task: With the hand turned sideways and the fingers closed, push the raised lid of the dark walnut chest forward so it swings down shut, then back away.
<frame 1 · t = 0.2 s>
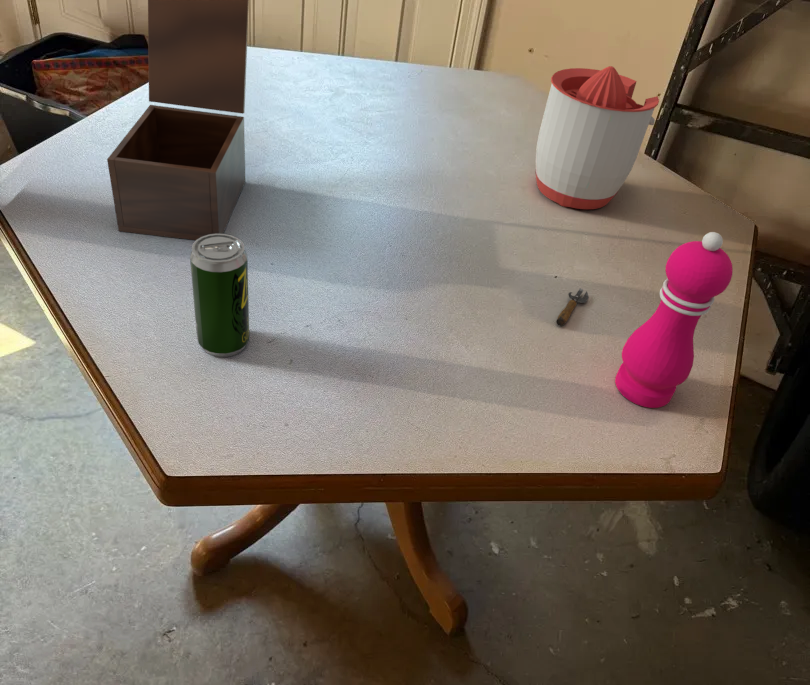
pepper mill: (642, 389, 78), on the table
citrus juicer: (576, 193, 112), on the table
chest: (186, 204, 95), on the table
beer can: (223, 343, 75), on the table
can opener: (571, 311, 87), on the table
lid: (198, 37, 92), point 19 cm above the table, hinge at 108.1°
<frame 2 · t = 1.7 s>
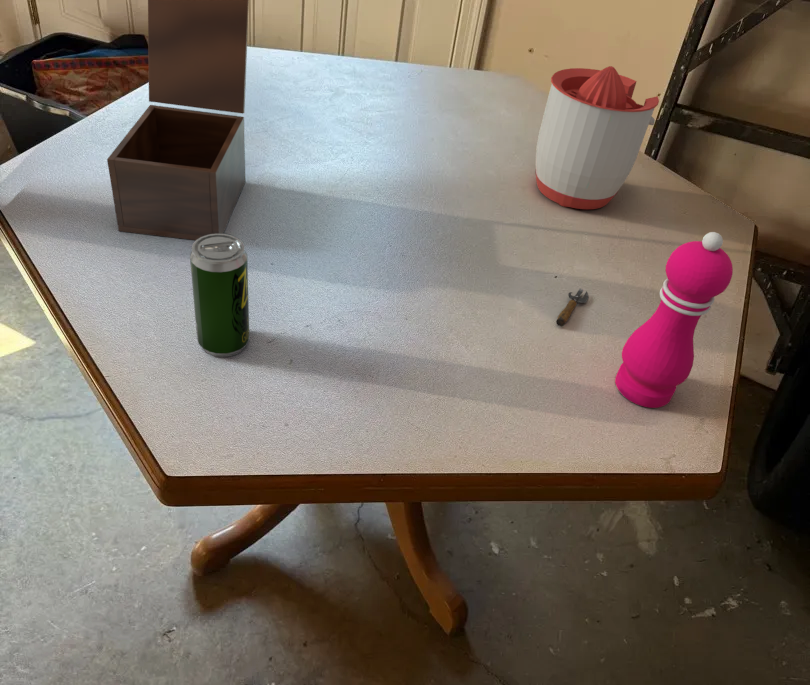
nothing on the table moved.
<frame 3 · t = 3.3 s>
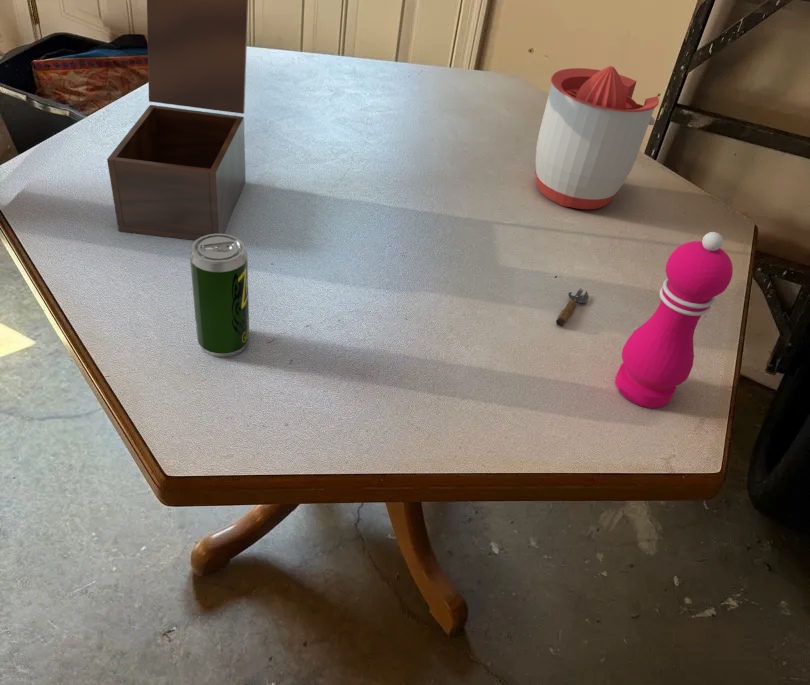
lid: (197, 37, 91), point 19 cm above the table, hinge at 106.1°
everything else where it was.
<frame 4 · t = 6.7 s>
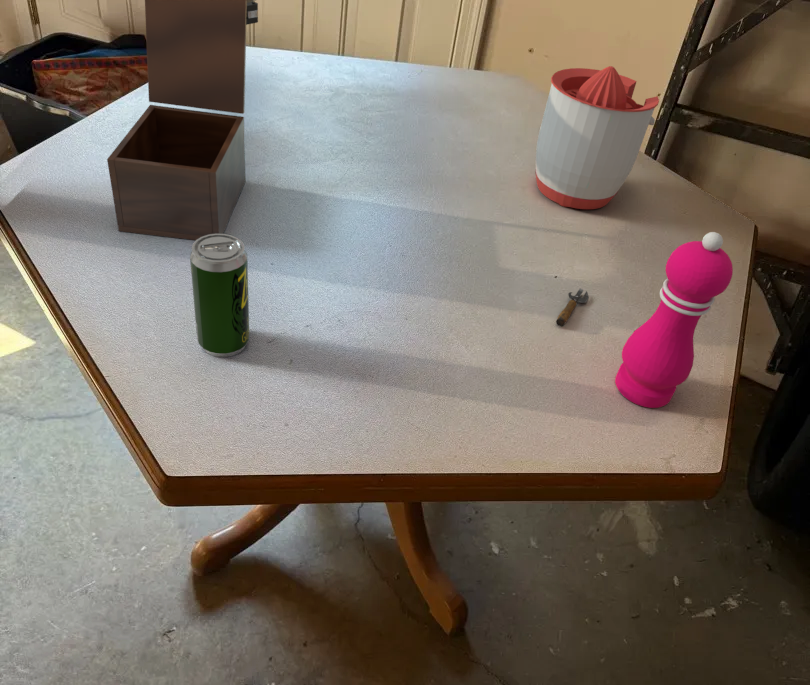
hand: (197, 25, 91), 20 cm above the table, tool horizontal, fingers closed
lid: (196, 37, 91), point 19 cm above the table, hinge at 102.5°
everything else where it was.
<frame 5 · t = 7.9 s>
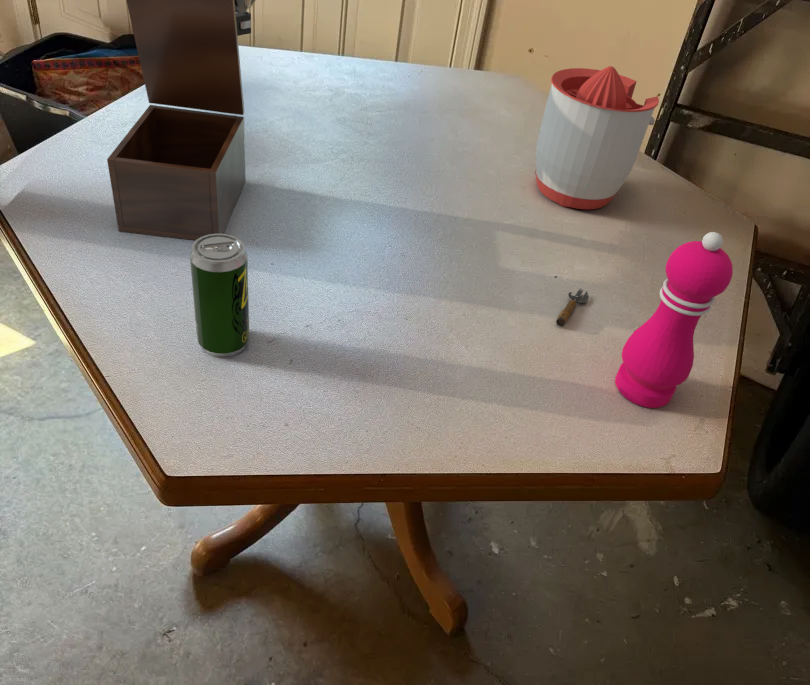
hand: (187, 37, 87), 20 cm above the table, tool horizontal, fingers closed
lid: (187, 49, 88), point 19 cm above the table, hinge at 74.7°
everything else where it was.
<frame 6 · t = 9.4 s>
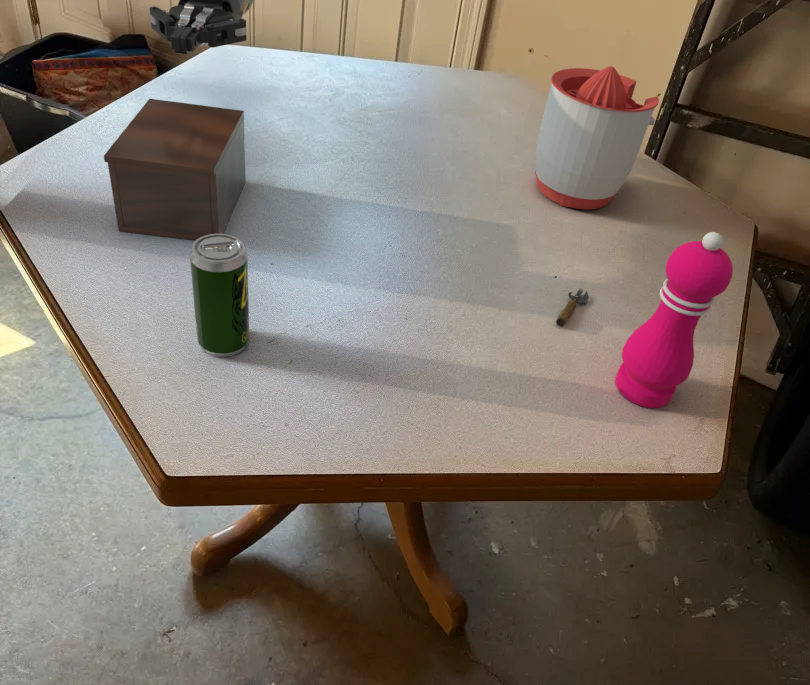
hand: (180, 45, 85), 20 cm above the table, tool horizontal, fingers closed
lid: (179, 134, 88), point 10 cm above the table, hinge at -0.1°
everything else where it was.
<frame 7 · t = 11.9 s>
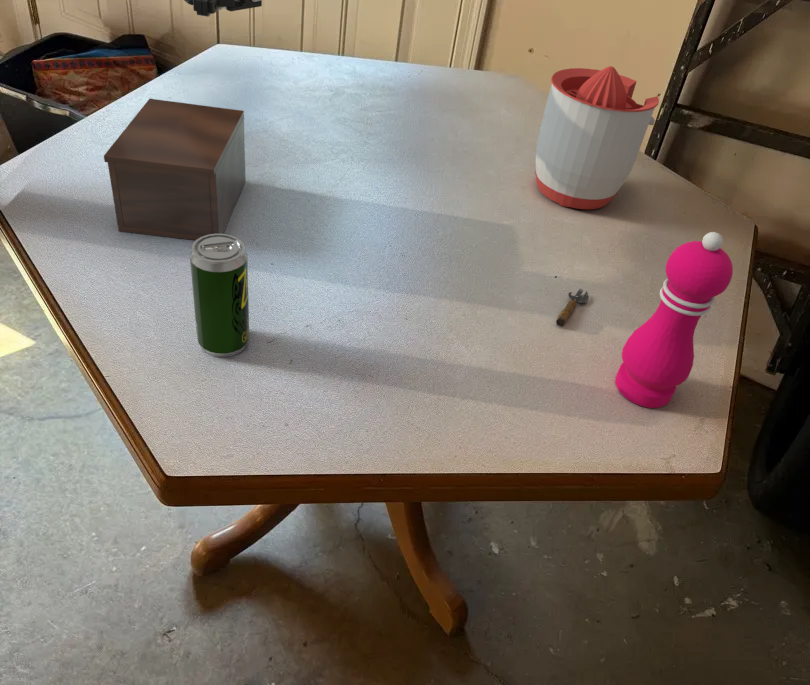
hand: (202, 8, 92), 21 cm above the table, tool horizontal, fingers closed
nothing on the table moved.
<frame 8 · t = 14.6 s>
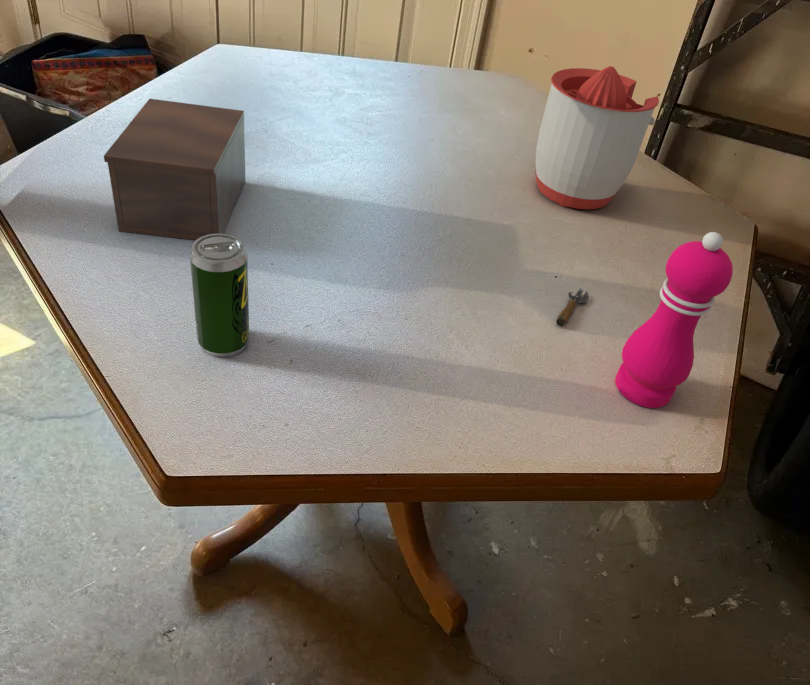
nothing on the table moved.
at the end: lid at +0° (first picture: +108°); lid reached +108° during the clip, +0° at the end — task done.
